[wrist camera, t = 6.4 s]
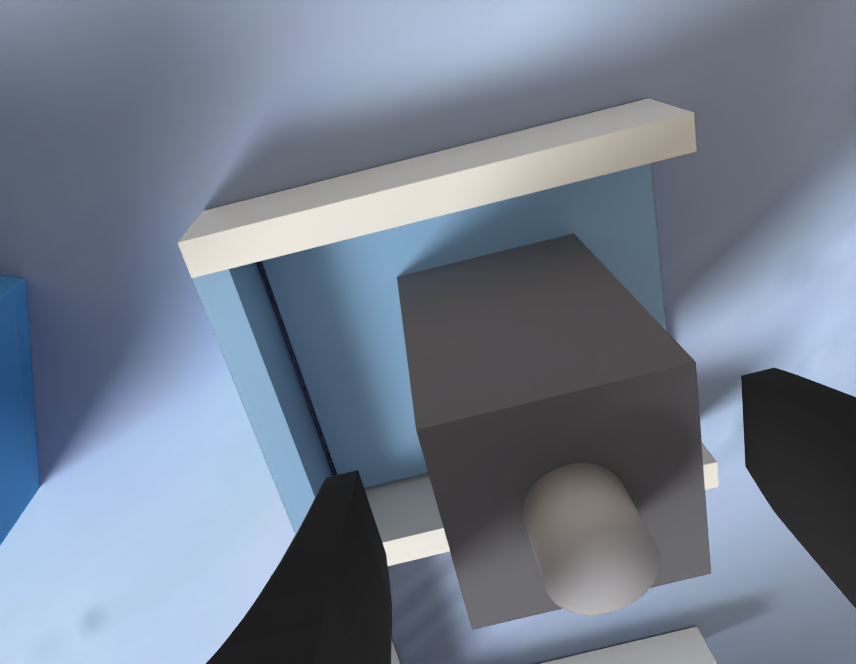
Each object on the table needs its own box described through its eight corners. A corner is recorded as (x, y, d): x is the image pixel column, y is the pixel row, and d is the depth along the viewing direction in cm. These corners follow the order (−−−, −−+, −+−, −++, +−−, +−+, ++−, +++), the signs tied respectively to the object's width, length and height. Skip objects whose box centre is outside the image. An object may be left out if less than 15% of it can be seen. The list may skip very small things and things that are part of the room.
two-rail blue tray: (698, 642, 24) (733, 707, 22) (394, 714, 24) (397, 786, 22) (648, 98, 16) (693, 112, 14) (202, 211, 17) (177, 242, 14)
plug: (596, 387, 19) (751, 639, 12) (436, 426, 19) (484, 701, 12) (574, 233, 17) (742, 411, 10) (396, 277, 17) (423, 489, 10)
